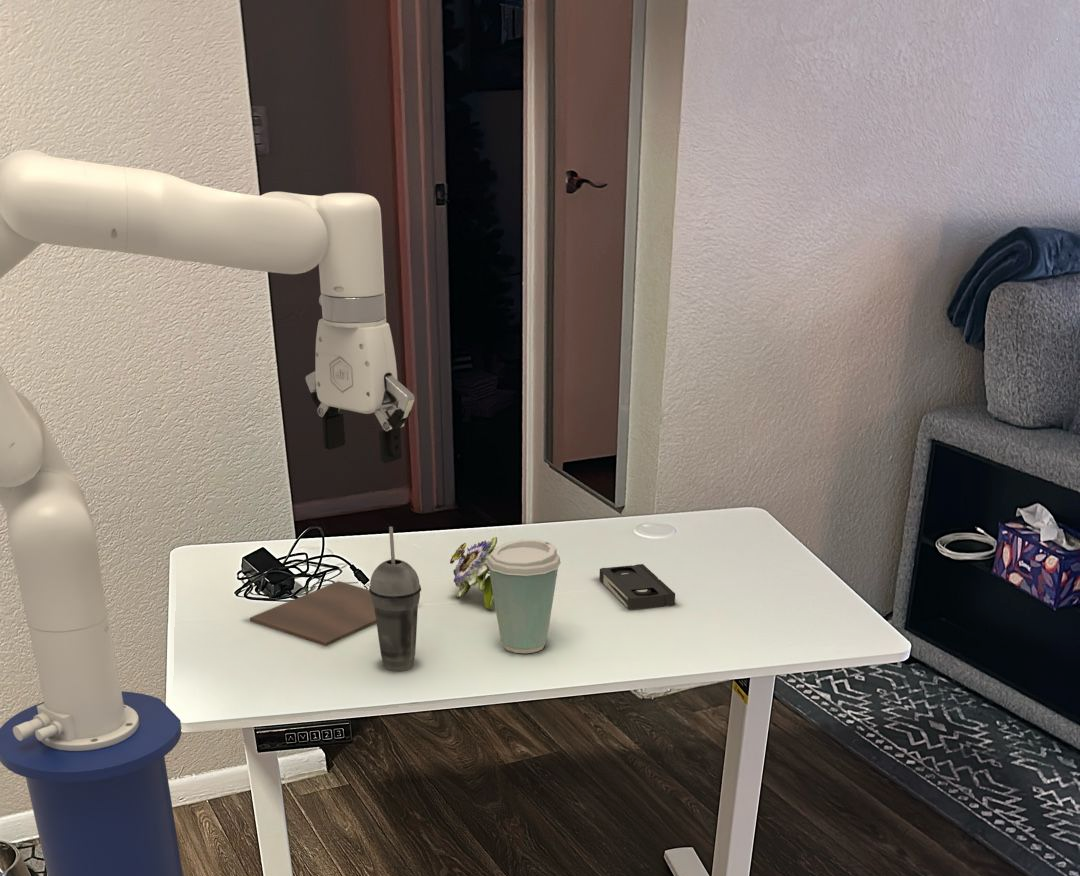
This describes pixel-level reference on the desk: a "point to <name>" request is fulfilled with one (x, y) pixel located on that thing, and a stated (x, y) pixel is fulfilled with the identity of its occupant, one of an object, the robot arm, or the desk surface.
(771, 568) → the desk surface
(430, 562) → the desk surface
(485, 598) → the passion flower
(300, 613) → the walnut board
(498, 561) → the disposable coffee cup
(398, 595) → the beverage cup
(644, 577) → the vhs tape
